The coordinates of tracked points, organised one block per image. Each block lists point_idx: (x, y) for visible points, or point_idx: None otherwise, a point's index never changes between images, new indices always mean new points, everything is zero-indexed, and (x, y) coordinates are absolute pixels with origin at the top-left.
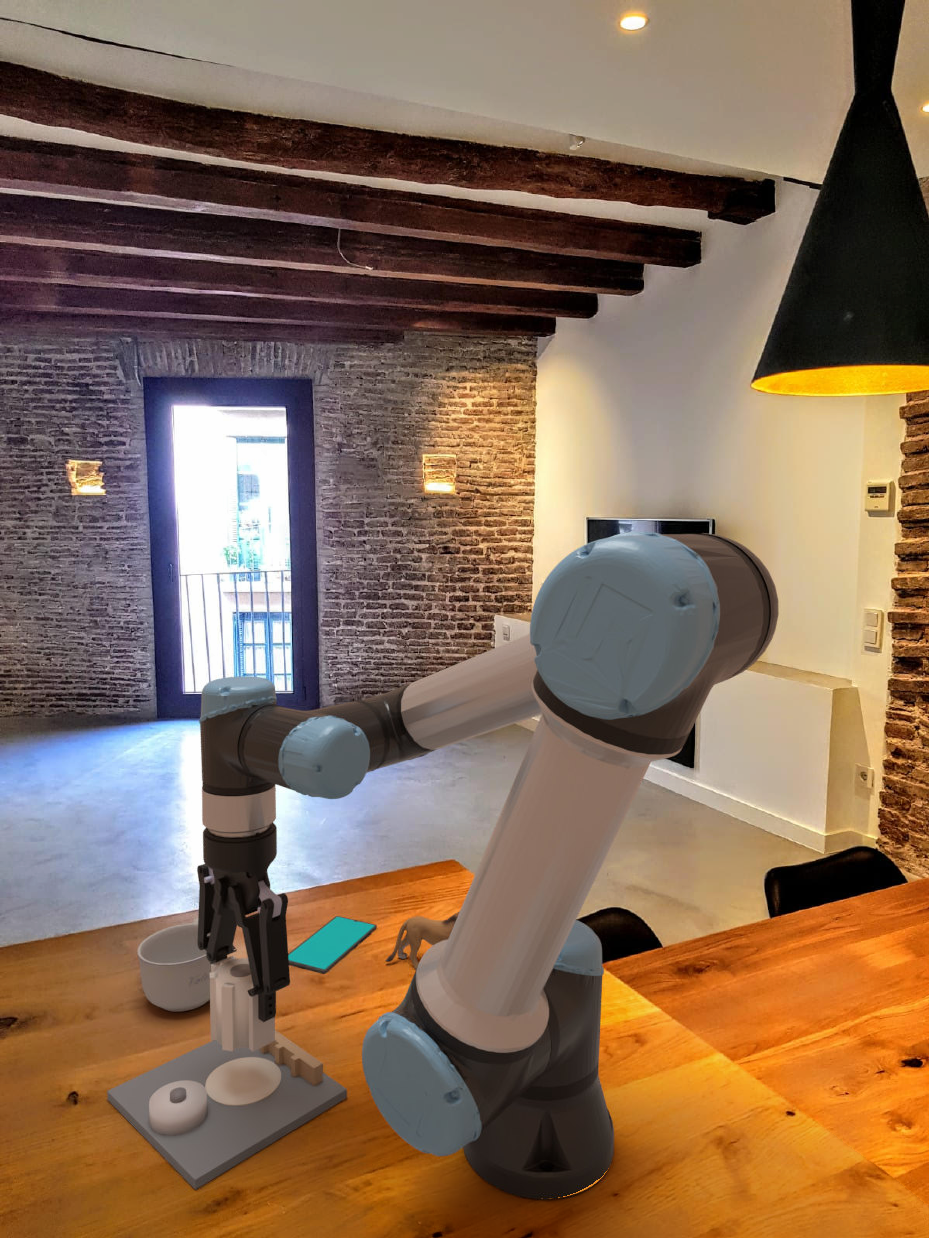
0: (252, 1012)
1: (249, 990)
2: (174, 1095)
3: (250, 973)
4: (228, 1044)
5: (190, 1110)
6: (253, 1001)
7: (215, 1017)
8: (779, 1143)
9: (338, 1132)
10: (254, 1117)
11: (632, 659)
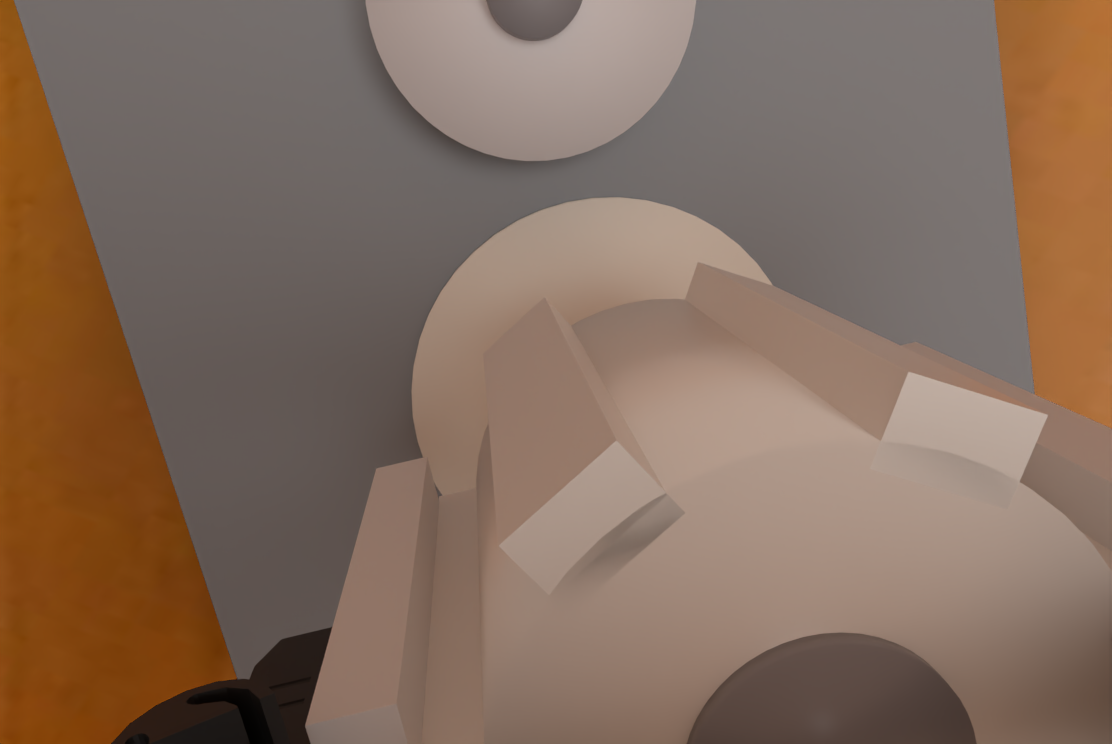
0: (342, 602)
1: (238, 716)
2: None
3: None
4: (509, 339)
5: (380, 18)
6: (323, 672)
7: (729, 326)
8: None
9: (73, 642)
10: (301, 343)
11: None
